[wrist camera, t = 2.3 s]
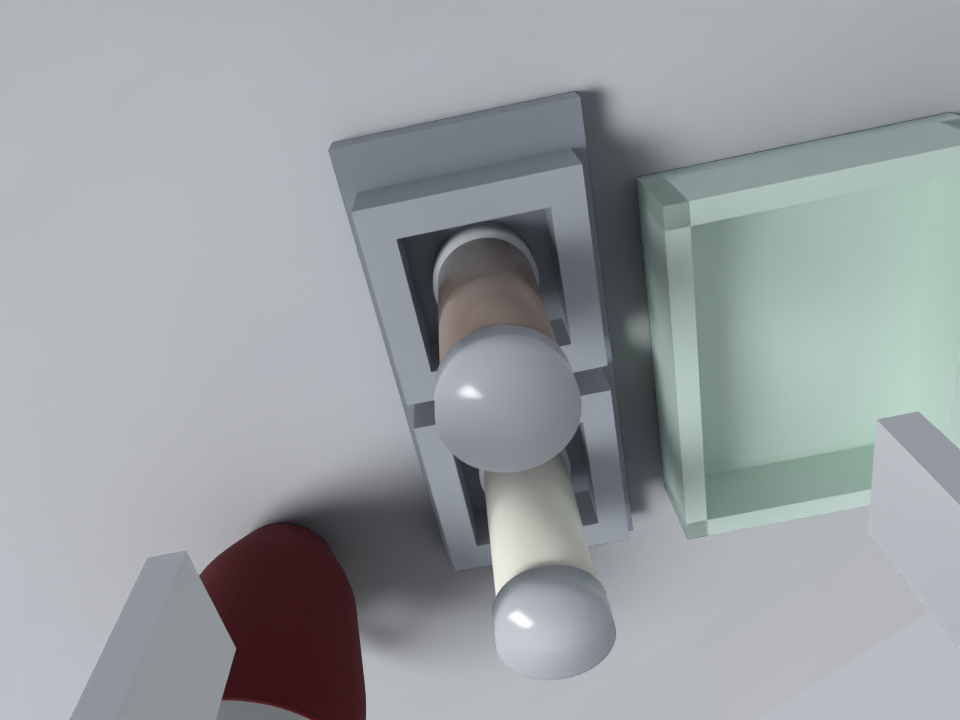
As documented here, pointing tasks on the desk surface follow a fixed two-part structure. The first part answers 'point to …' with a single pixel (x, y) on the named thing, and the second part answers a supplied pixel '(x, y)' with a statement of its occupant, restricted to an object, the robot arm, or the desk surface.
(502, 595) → the fuse
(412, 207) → the block
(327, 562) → the mug
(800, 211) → the tray
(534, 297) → the fuse
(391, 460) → the desk surface
